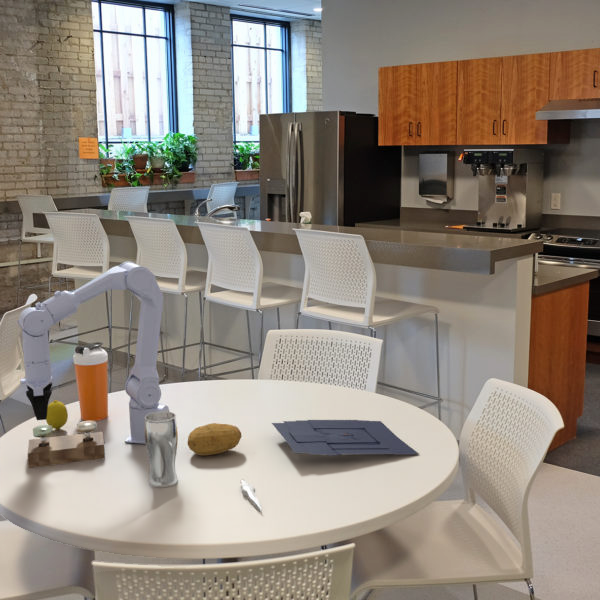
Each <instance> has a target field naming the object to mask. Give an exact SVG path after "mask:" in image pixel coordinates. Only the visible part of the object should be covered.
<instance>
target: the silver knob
mask: <svg viewBox="0 0 600 600" xmlns="http://www.w3.org/2000/svg"><path fill="white" fill-rule="evenodd" d="M76 427H77V432H79V433H81V434H85V441H86V442H88V441H91V437H90V433H93V432H95V431H96V430H97V429H98V425H97V421H90V420H89V421H85V420H82V421H80V422H78V423H77V426H76Z"/></svg>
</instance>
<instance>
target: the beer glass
mask: <svg viewBox="0 0 600 600" xmlns="http://www.w3.org/2000/svg"><path fill="white" fill-rule="evenodd" d="M178 439H179V435H178V425H177V417H176V413H174V412H172V411H169V412H167V411H160V412H153V413H150V414H148V415H146V416H145V443H146V444H145V448H146V452H147V455H148V460H149V463H150V464H149V466H150V474H149V481H148V482H149V485H150V486H152V487H154V488H169V487H172V486H174V485H176V484H177V483H178V481H179V480H178V474H177V470H176V457H177V451H178V450H177V449H178V441H179V440H178Z"/></svg>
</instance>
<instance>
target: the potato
mask: <svg viewBox="0 0 600 600" xmlns="http://www.w3.org/2000/svg"><path fill="white" fill-rule="evenodd" d="M187 436H188V437H187V446H188V448H189V450H190V451H192V452H193V453H194V454H196V455H199V456H210V455H211V456H212V455H217V454H222V453H225V452H228V451H231V450H233V449H234V448H236V447H237V446H238V444H240V443H239V442H240V441H241V439H242V432H241V430H240V428H239V427H237V426H236V425H232V424H227V423H216V422H213V423H208V424H205V425H202V426H198V427H195V428H194V429H193V430H192V431H191V432H189V434H188V435H187Z"/></svg>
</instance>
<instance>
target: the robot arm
mask: <svg viewBox="0 0 600 600" xmlns="http://www.w3.org/2000/svg"><path fill="white" fill-rule="evenodd" d="M110 290H116V291H126V290H129V291H130V292H131V293H132V294H133V295H134V296H135V297H136V298H137V299H138V300H139V301H140V309H139V318H138V319H139V320H138V329H137V339H136V347H135V348H136V349H135V358H134V365H133V366H132V367H131V368H130V372H129V373H130V374H129V376H128V378H127V380H126V382H125V385H124V390H125V392H126V394H127V395H128V396H129V397H130V399H129V402H128V411H129V412H128V413H129V426H130V427H129V428H130V435H129V436H128V437H127V438H126V439H125V440H124V443H127V444H128V443H130V444H139V445H140V444H144V445H146V443H145V416H146V415H148V414H150V413H153V412H160V411H167V412H170V408H169V406H168V405H164V404H161V403H160V402H159V401H160V400H161V398H162V390H161V387H160V377H159V373H158V370H157V360H158V352H159V351H158V350H159V343H160V332H161V323H162V316H163V315H162V314H163V307H164V306H163V305H164V296H163V293H162V290H161V287H160V286H159V284H158V281H157V277H156V275H155V274H154V273H153V272H152V271H151V270H150V269H149V268H148V267H146V266H143V265H139V264H137V263H135V262H133V261H125V262H122V263H121V264H119V265H116V266H113V267H111V268H109V269H108V270H107V271H105V272H104V273H102V274H100V275H98V276H97V277H95V278H94V279H92V280H90V281H89V282H86V284H83V285H82V286H80V287H78V288H77V289H75V290H74V291H68V290H63V291H60V290H56V291H55V292H54V293H53V296H51V297H50V298H48V299H46V300H44V301H41V302H40V301H39V302H36V303H35V307H34V306H33V307H31V306H30V307H27V308H25V309H23V310H22V311H21V313H20V314H19V316H18V320H17V324H18V326H19V327H20V328H21V330H22V331H21V333H22V335H21V337H22V343H21V344H22V354H23V364H24V377H25V378H21V379H20V384H21V385H27V386H26V388H27V390H26V391H25V395H26V397H27V399H28V400H29V402H30V404H31V406H32V409H33V412H34V416H35V419H36V420H37V421H46V418H47V410H48V405H49V402H50V398H51V396H52V394H53V393H52V392H53V390H52V387H53V381H54V380H53V375H52V366H51V354H50V352H51V351H50V340H49V336H48V335H49V334H48V332H49V331H50V328H51V326H54V325H56V324H57V323H59V322H61V321H64V320H65V319H67V318H69V317H71V316H72V315H74V314H76V313H77V312H78V310H79V307H80V306H81V304H84V303H85V302H87V301H90V300H92V299H93V298H96V297H98V296H100V295H102V294H103V293H105V292H107V291H110Z"/></svg>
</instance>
